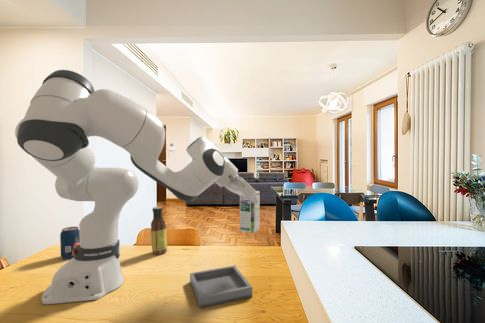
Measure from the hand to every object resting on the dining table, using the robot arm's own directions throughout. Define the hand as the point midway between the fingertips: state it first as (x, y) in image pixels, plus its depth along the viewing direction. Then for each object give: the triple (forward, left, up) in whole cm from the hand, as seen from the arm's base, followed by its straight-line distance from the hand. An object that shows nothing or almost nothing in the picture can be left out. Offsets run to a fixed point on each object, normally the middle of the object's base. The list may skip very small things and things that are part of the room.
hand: (251, 200), depth 95 cm
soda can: (-66, +40, -26) cm, 81 cm away
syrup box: (-1, 0, -11) cm, 11 cm away
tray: (-15, -8, -26) cm, 31 cm away
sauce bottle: (-31, +31, -26) cm, 51 cm away
